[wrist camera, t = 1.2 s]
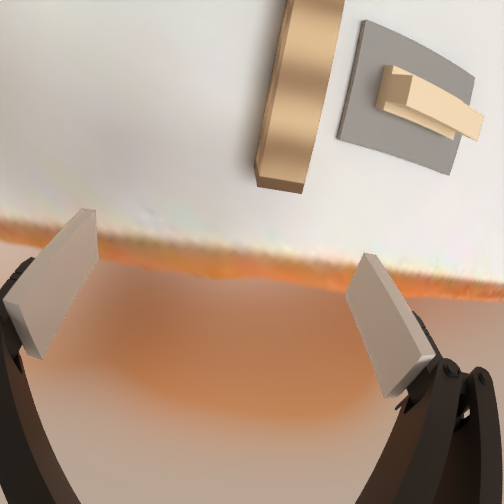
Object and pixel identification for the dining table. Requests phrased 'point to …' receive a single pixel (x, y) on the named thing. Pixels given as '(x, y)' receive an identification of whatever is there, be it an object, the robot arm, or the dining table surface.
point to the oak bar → (297, 93)
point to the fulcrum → (407, 100)
